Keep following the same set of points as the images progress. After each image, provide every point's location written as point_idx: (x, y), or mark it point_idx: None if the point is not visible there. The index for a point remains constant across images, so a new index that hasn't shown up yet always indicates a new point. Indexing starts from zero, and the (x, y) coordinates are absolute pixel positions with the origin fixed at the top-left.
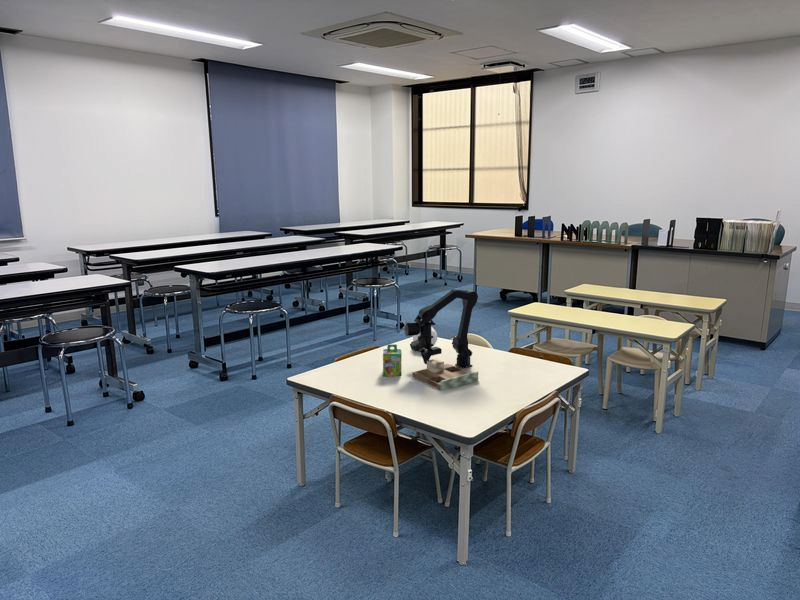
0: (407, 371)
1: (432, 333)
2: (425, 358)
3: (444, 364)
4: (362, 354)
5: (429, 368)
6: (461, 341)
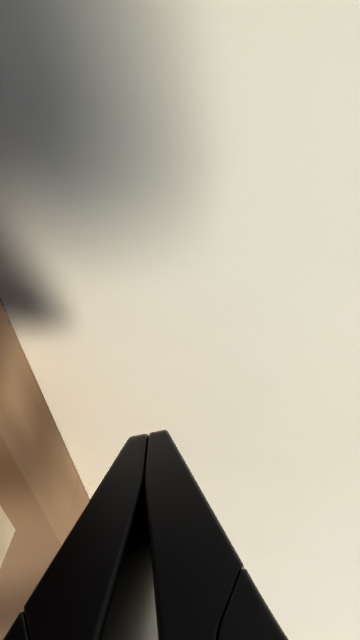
0: (283, 12)
1: None
2: (18, 628)
3: None
4: None
5: None
6: None
